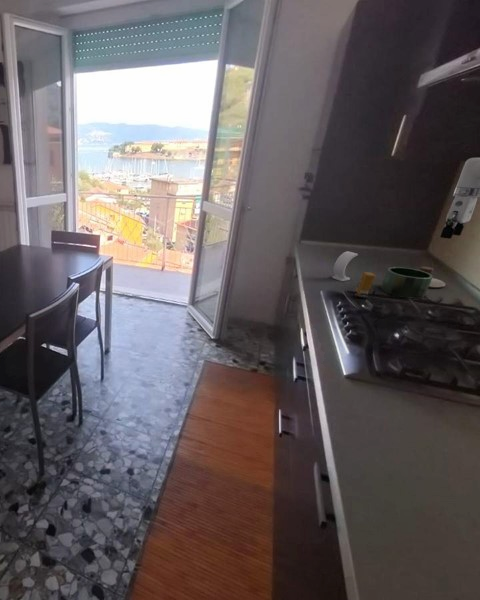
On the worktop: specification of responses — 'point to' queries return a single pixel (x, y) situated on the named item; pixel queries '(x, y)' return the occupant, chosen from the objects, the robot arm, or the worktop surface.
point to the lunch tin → (406, 282)
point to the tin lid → (434, 282)
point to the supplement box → (365, 283)
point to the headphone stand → (342, 265)
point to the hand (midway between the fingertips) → (450, 236)
